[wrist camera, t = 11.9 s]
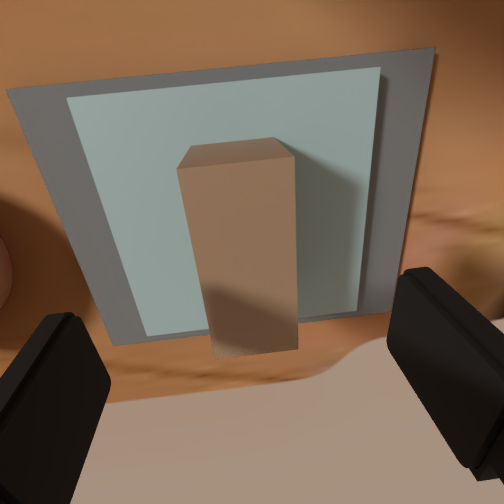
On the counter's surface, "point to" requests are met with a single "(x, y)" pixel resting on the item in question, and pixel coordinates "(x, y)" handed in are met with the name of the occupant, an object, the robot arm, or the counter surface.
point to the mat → (68, 141)
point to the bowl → (5, 273)
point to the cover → (236, 200)
